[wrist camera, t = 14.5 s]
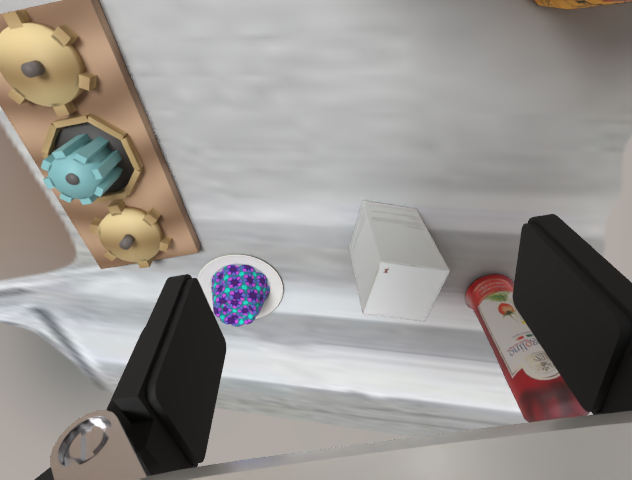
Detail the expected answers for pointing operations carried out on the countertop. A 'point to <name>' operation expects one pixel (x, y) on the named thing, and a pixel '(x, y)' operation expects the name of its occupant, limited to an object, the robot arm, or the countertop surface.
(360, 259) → the supplement box
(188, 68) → the countertop surface
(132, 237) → the gear board
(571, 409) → the liquor
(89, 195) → the loose gear
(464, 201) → the countertop surface
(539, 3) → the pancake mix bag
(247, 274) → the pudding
